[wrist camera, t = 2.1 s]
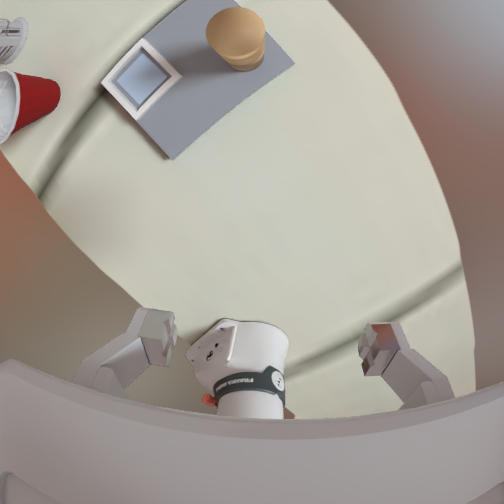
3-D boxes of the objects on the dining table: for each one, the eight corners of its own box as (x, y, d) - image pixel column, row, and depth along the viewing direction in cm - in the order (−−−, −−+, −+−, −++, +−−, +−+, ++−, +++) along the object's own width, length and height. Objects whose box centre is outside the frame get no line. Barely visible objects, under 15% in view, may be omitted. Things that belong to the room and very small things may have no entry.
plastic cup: (38, 61, 26) (-13, 65, 16) (80, 71, 29) (26, 73, 18) (22, 119, 31) (-26, 136, 21) (61, 134, 34) (10, 154, 23)
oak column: (242, 78, 29) (230, 66, 18) (218, 53, 27) (194, 30, 16) (271, 57, 27) (277, 34, 16) (248, 32, 26) (239, -3, 14)
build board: (176, 157, 36) (170, 162, 34) (107, 83, 30) (96, 83, 28) (293, 65, 29) (295, 62, 27) (214, -13, 23) (210, -21, 21)
